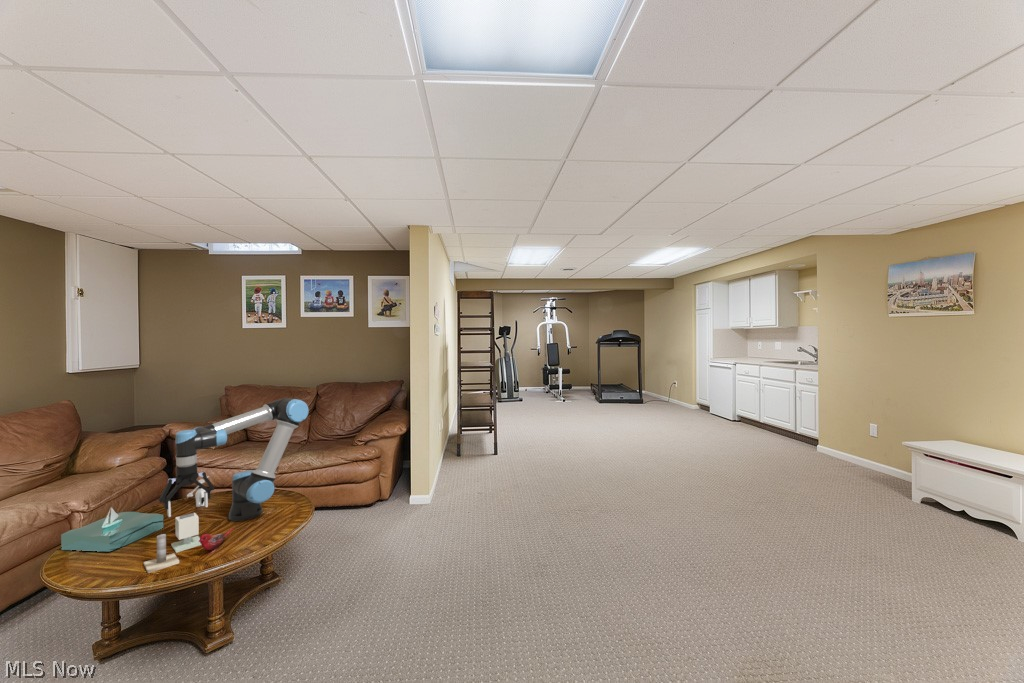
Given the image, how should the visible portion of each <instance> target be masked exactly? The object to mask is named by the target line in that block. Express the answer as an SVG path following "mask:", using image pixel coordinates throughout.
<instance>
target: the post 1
mask: <svg viewBox="0 0 1024 683" xmlns="http://www.w3.org/2000/svg"><path fill="white" fill-rule="evenodd" d="M178 564H180V559H179V558H178V556H177V555H176V553H175V552H173V553H170V554H167V534H166V533H161V534H158V535H157V536H156V558H152V559H150V560H147V561H146V560H145V561H143V566H144V568H145V570H146V573H147V574H150V573H153V572H157V571H160V570H164V569H165V568H169V567H172V566H176V565H178Z"/></svg>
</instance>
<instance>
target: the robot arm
mask: <svg viewBox="0 0 1024 683" xmlns="http://www.w3.org/2000/svg"><path fill="white" fill-rule="evenodd" d="M309 411H310V409H309V407H308V404H307V402H305V401H304V400H301V399H297V398H289V397H284V398H280V399H277V400H274V401H270V402H267V403H264V404H263V405H262V407H258V408H256V409H253V410H250V411H247V412H244V413H241V414H239V415H235V416H232V417H229V418H227V419H224V420H220V421H218V422H214V423H211V424H208V425H205V426H196V427H194V428H193V429H185V430H180V431H177V432H176V433H175V440H174V441H175V461H176V462H175V465H176V467H175V468H176V469H175V472H176V476H175V477H174V478H170V477H169V478H167V481H166V482H167V483H166V485H165V487H164V489H163V490H162V493H161V494H160V497H159V498H158V502H160V503H163V508H164V510H166V512H167V517H168V518H171V517H172V507H171V506H172V505H171V499H172V498H173V496H175V494H176V493H177V492H178V490H179V489H181V487H187V486H191V485H193V484H195V485H196V486H199V487H201V488H202V489H204V490H205V491H206V492H204V506H203V507H205V508H209V506H208V505H209V503H208V502H209V500H210V499H211V492H212V491H214V490H216V489H215V486H214V485H213V483H212V482H211V481H210V478H209V477H208V478H207V474H206V472H205V471H204V470H202V471H201V472H198V464H197V463H198V452H197V451H198V450H203V449H208V448H209V449H210V448H215V447H219V446H222V445H223V446H224V445H226V444H227V442H228V441H227V440H228V435H229V434H232V433H235V432H238V431H240V430H243V429H246V428H249V427H252V426H255V425H257V424H261V423H263V422H267V421H268V422H272V421H273V420H276V423H277V424H276V426H275V429H274V431H273V434H272V435H271V437H270V440H269V442H268V444H267V446H266V448H265V450H264V453H263V455H262V457H261V459H260V461H259V463H258V465H257V468H256V469H252V470H251V469H250V470H249V469H248V470H246V471H244V470H243V471H239V472H236V473H234V474H233V475H232V477H231V478H232V479H231V485H232V486H231V487H232V489H231V490H232V491H231V492H232V503H231V507H230V510H229V513H228V520H230V521H231V522H243V520H244V521H247V520H248V519H249V520H252V519H254V518H257V517H260V516H261V515H262V514H261V513H263V507H262V503H265V502H266V501H268V500H269V499H271V498H272V496H273V495H274V492H275V490H276V489H275V484H274V483H275V480H276V475H275V473H276V471H277V468H278V466H279V464H280V461H281V459H282V457H283V455H284V452H285V451H286V448H287V446H288V444H289V441H290V439H291V437H292V435H293V433H294V431H295V429H297V428H299V427H300V424H301V422H303V421H304V420H306V419H307V417H308V416H309ZM199 477H201V478H203V480H205V483H206V484H207V486H208V487H206V486H205V485H204V484H203V483H202V484H201V483H200V482H198V478H199ZM174 482H176V484H175V485H174V487H173V488H172V489H171V491H170V488H171V486H172V485H173V484H174ZM169 491H170V492H169ZM168 492H169V493H168ZM260 514H261V515H260Z"/></svg>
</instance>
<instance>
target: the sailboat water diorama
mask: <svg viewBox="0 0 1024 683" xmlns="http://www.w3.org/2000/svg"><path fill="white" fill-rule="evenodd" d="M162 528H163V529H164V514H161V513H146V512H145V513H144V512H139V511H137V512H136V511H123V512H122V511H121V512H116V511H115V510H114V508H113V507H112V506H110V508H109V511H108V512H107V515H106V517H104V518H101V519H98V520H95V521H93V522H91V523H89V524H87V525H83V526H81V527H78V528H74V529H69V530H67V531H66V532H64V533H61V534H60V540H61V542H60V543H61V545H60V546H61V547H62V548H61V551H72V550H82V551H97V552H96V553H98V552H112V551H115V550H118V549H121V548H122V547H125V546H127V545H130V544H132V543H134V542H137V541H138V540H140V539H143V538H145V537H147V536H149V535H151V534H153V533H155V532H157V531H161V530H162ZM160 529H161V530H160Z"/></svg>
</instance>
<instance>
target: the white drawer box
mask: <svg viewBox="0 0 1024 683" xmlns="http://www.w3.org/2000/svg"><path fill="white" fill-rule="evenodd" d="M174 520H175V522H174V523H175V525H174V526H175V529H174V530H175V537H176V538H177V539H178V540H179V541H181V540H183V539H184V538H188V537H191V536H192V537H196V536H199V535H200V534H199V533H200V532H199V531H200V530H199V528H200V527H199V526H200V523H199V522H200V521H199V520H200V519H199V515H198V514H197V513H196V512H192V513H187V514H184V515H180V516H176V517H175V519H174Z"/></svg>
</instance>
